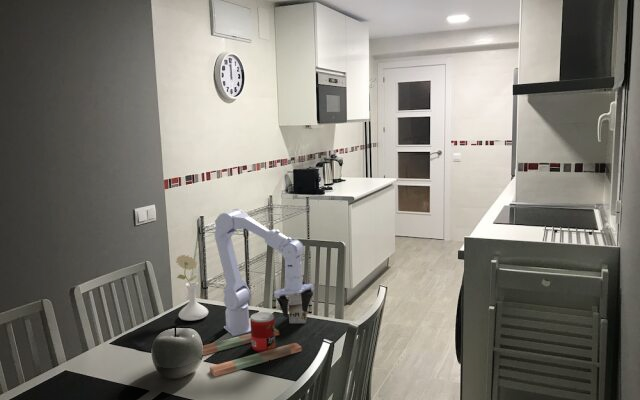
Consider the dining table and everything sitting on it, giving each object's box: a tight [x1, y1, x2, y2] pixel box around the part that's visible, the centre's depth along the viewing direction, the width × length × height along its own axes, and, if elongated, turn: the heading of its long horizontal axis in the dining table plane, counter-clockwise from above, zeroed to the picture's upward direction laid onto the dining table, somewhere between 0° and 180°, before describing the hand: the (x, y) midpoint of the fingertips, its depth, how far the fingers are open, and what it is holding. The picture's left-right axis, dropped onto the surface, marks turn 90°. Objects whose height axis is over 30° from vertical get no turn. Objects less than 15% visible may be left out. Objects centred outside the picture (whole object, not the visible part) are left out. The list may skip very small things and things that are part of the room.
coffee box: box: [287, 274, 308, 324], centre depth 198 cm, size 9×6×16 cm
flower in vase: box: [175, 254, 209, 322], centre depth 202 cm, size 13×11×25 cm
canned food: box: [249, 311, 276, 353], centre depth 174 cm, size 8×8×11 cm
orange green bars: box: [202, 327, 303, 377], centre depth 172 cm, size 20×30×2 cm, turn 122°
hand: (295, 313), depth 180 cm, fingers open, 7 cm apart
